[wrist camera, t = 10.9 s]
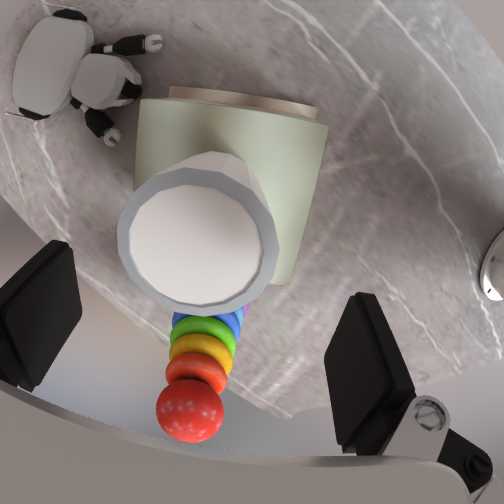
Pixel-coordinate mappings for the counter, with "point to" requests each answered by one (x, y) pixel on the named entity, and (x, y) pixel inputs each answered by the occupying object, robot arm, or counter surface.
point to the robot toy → (76, 71)
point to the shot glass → (199, 236)
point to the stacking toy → (198, 374)
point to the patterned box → (240, 150)
